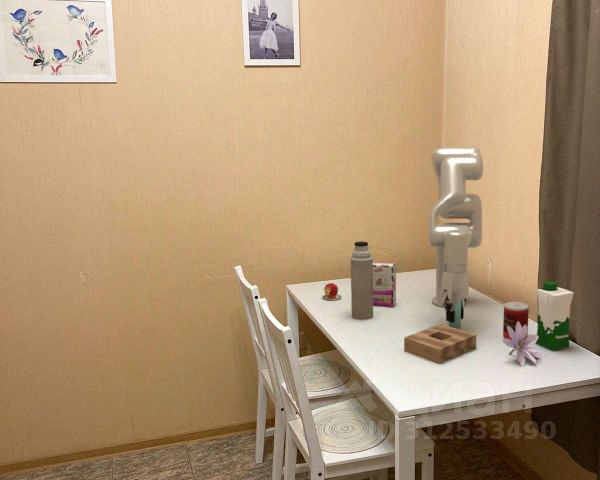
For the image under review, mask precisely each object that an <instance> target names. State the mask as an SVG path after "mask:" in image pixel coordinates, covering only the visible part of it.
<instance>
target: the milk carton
mask: <svg viewBox="0 0 600 480" xmlns="http://www.w3.org/2000/svg"><path fill="white" fill-rule="evenodd" d="M536 294H537V295H536V296H537V301H538V308H537V309H538V310H537V311H538V312H537V313H538V314H537V331H536V335H538V339H537V341H536V342H535V345H538V346H540V347H542V348H545V349H548V350H550V351H552V352H553V351H554V352H555V351H557V350H561V349H566V348H570V332H569V330H570V316H571V303H572V301H573V297H574V291H570V290H568V289H565V288H561V287H558V282H556V281H544V282H543V287H542V288H537V289H536Z"/></svg>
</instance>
